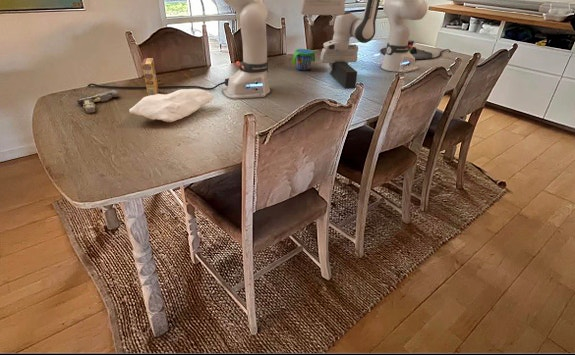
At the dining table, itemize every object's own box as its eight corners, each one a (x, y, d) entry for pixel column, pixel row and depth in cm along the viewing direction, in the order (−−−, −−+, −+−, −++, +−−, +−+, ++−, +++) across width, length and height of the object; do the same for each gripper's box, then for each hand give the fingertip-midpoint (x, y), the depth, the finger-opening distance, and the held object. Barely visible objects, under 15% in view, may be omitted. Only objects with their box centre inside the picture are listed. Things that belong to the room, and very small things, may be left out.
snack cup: (308, 65, 218) (310, 47, 212) (319, 69, 210) (321, 51, 205) (287, 68, 210) (287, 50, 205) (297, 73, 203) (298, 54, 197)
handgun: (128, 97, 156) (111, 87, 164) (86, 107, 144) (70, 97, 152) (129, 103, 157) (113, 94, 165) (88, 114, 146) (72, 103, 154)
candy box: (157, 97, 164) (152, 63, 155) (147, 98, 163) (141, 63, 155) (158, 91, 171) (153, 57, 163) (149, 91, 170) (143, 58, 162)
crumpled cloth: (117, 110, 146) (113, 90, 140) (195, 92, 166) (194, 73, 160) (143, 139, 134) (140, 118, 128) (223, 116, 154) (224, 96, 148)
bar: (355, 87, 186) (357, 71, 181) (345, 88, 184) (347, 72, 180) (339, 73, 206) (340, 58, 202) (329, 73, 205) (331, 58, 201)
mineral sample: (442, 55, 248) (445, 41, 243) (409, 61, 230) (411, 46, 226) (402, 47, 272) (404, 34, 268) (369, 52, 255) (370, 39, 251)
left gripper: (344, -9, 166) (340, 24, 173) (300, -10, 162) (298, 24, 169) (348, -7, 161) (344, 26, 168) (304, -8, 157) (302, 26, 164)
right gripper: (356, 43, 198) (353, 68, 205) (320, 43, 194) (318, 69, 201) (360, 45, 193) (357, 71, 200) (324, 46, 189) (321, 72, 196)
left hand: (321, 25), depth 169 cm, fingers open, 8 cm apart
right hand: (337, 70), depth 201 cm, fingers closed on bar, 5 cm apart
